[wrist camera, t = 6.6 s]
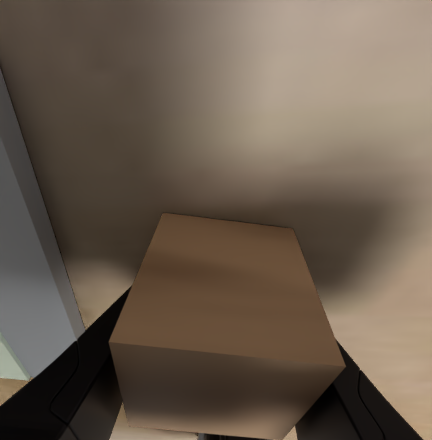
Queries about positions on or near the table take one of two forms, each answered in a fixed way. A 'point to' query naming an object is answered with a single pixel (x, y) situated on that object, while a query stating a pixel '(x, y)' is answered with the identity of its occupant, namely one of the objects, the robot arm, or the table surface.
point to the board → (29, 264)
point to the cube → (223, 331)
